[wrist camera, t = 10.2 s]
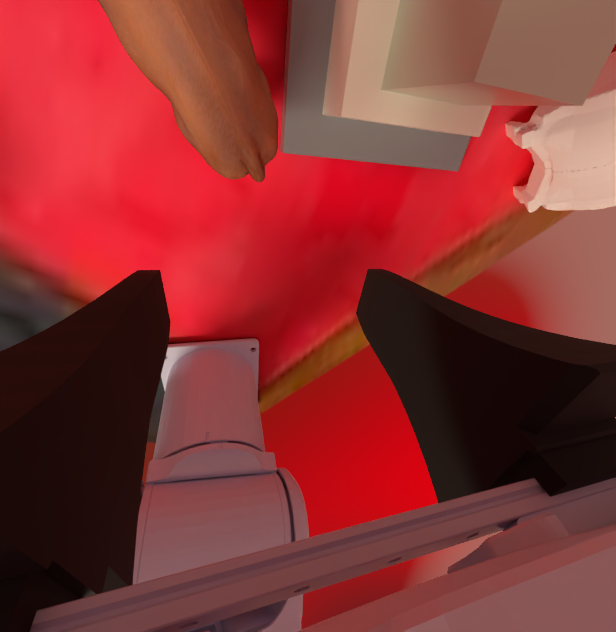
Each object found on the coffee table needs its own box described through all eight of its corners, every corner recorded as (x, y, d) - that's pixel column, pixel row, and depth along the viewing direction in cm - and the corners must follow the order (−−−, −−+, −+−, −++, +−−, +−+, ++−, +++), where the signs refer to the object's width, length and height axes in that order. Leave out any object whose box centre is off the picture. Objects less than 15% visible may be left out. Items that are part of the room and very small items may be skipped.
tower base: (448, 168, 20) (491, 180, 17) (280, 150, 17) (294, 161, 14) (563, -154, 13) (676, -238, 10) (304, -298, 10) (347, -493, 6)
